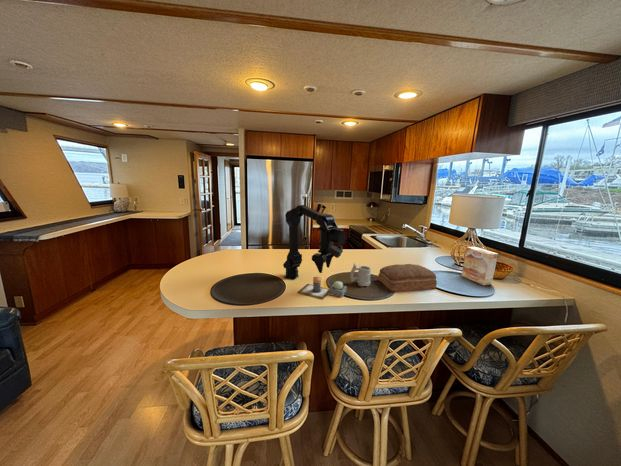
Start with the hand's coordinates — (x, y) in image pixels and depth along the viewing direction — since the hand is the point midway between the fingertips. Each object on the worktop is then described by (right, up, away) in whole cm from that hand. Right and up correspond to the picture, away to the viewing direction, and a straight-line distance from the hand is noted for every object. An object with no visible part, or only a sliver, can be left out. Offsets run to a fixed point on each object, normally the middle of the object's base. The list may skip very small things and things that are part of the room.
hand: (324, 270), depth 123 cm
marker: (-4, -11, +3) cm, 12 cm away
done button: (+7, -11, +3) cm, 13 cm away
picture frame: (-5, -12, +3) cm, 13 cm away
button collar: (+7, -12, +3) cm, 15 cm away
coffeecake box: (+96, -11, +28) cm, 100 cm away
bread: (+48, -11, +17) cm, 53 cm away
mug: (+21, -10, +15) cm, 28 cm away
